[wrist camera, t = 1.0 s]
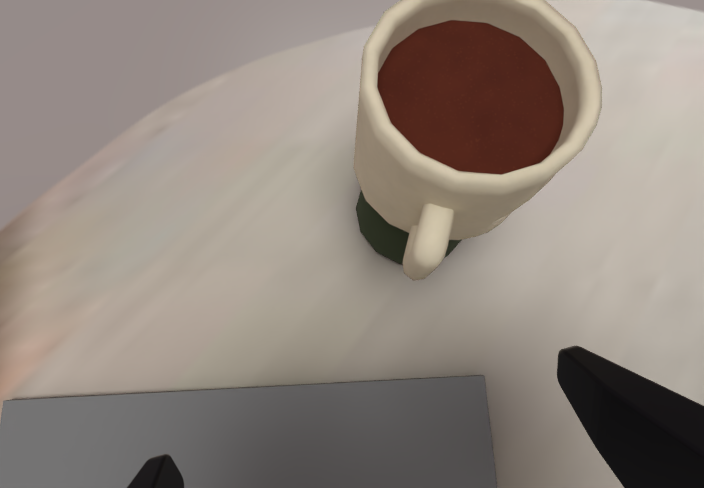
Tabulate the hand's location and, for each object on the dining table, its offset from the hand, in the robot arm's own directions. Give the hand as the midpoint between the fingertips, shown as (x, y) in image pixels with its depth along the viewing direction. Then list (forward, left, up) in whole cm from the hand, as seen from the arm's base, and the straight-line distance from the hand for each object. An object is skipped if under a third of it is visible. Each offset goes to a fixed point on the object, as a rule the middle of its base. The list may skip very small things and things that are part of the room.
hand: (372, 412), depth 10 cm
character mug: (-4, -9, -14) cm, 17 cm away
